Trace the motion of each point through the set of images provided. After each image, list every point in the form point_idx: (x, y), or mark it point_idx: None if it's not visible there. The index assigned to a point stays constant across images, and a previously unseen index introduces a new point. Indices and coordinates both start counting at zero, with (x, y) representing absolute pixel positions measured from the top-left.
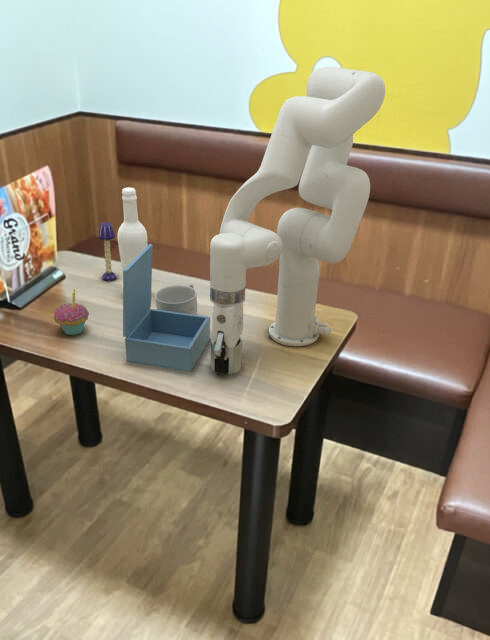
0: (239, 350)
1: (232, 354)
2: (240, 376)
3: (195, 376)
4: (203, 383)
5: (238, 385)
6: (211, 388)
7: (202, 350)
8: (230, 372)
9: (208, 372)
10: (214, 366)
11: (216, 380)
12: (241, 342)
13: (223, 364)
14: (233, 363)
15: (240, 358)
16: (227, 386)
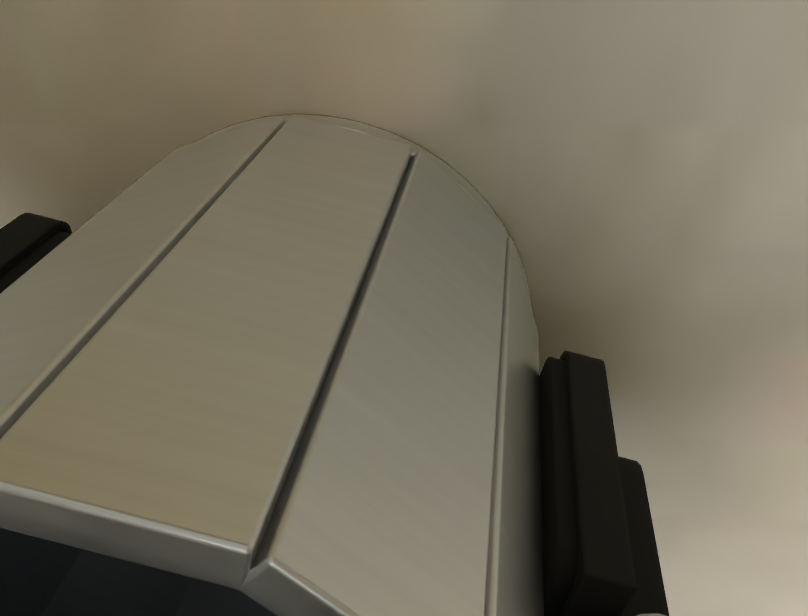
0: (340, 424)
1: (508, 552)
2: (511, 117)
3: None
4: (667, 553)
5: (784, 151)
6: (796, 487)
7: None
8: (520, 304)
9: None
10: None
11: None
12: (68, 502)
13: (656, 572)
14: (507, 362)
15: (307, 229)
16: (783, 309)
